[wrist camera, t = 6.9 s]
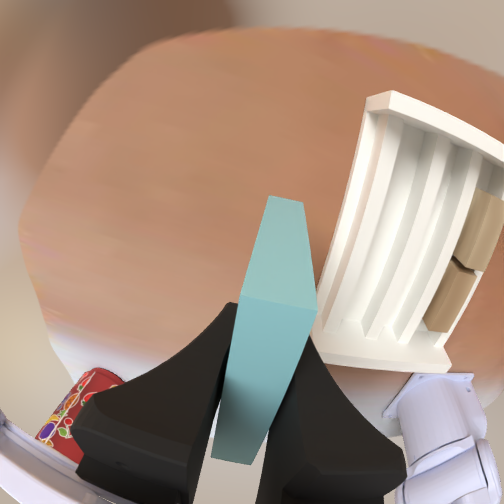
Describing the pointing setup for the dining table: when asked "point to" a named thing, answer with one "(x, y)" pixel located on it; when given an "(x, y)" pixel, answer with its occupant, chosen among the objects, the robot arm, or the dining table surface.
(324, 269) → the rack
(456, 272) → the offcut
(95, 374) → the smoothie
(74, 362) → the dining table surface
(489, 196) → the offcut
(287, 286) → the teal square slab
